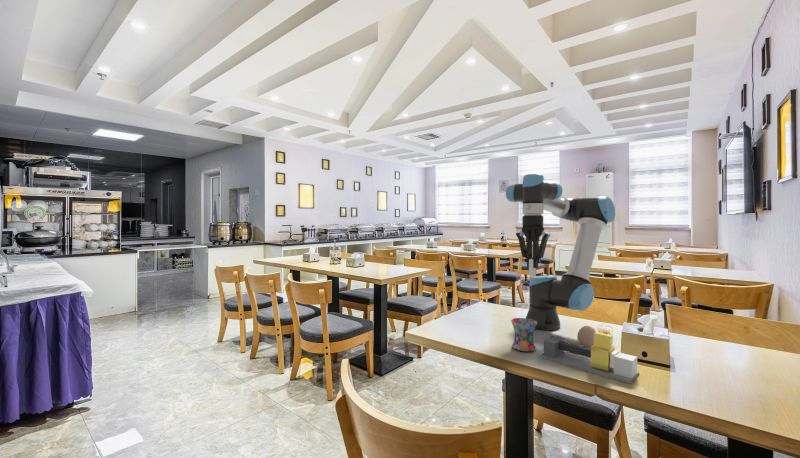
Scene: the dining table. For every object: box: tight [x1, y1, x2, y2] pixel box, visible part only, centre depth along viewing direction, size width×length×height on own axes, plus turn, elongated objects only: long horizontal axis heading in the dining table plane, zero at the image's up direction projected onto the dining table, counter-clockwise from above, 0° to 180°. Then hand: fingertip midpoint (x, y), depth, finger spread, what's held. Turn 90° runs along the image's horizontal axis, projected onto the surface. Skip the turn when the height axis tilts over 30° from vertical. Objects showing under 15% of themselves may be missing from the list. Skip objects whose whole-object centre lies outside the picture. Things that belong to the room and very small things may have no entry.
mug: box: [510, 317, 537, 352], centre depth 136 cm, size 12×9×11 cm
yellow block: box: [590, 331, 616, 371], centre depth 117 cm, size 6×5×10 cm
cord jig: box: [538, 335, 640, 384], centre depth 120 cm, size 10×28×7 cm, turn 43°
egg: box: [577, 325, 597, 348], centre depth 137 cm, size 7×7×8 cm
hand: (532, 276), depth 137 cm, fingers closed
